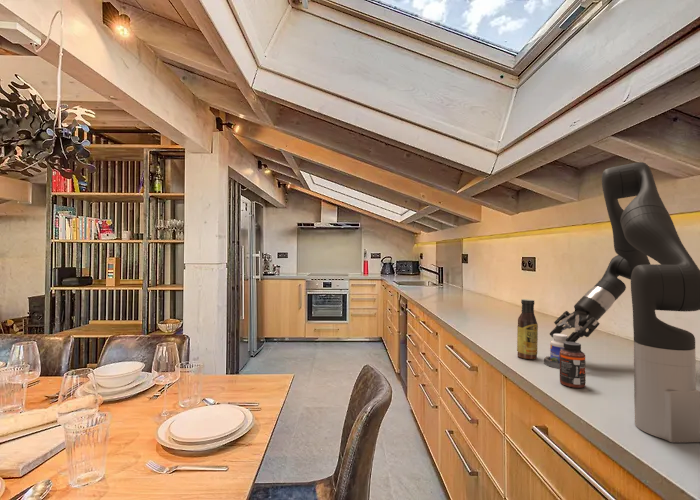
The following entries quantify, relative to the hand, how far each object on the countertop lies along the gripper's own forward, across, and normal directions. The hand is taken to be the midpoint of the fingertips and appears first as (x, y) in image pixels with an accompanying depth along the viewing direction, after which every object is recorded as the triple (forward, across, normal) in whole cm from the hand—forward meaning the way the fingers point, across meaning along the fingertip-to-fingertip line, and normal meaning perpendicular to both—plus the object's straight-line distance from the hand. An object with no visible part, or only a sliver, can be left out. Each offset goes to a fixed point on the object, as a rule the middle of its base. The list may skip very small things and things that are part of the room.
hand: (559, 339), depth 112 cm
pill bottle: (+6, 0, +6) cm, 8 cm away
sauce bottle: (+10, -8, +2) cm, 13 cm away
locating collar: (+6, 0, +6) cm, 8 cm away
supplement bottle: (+11, +17, +1) cm, 20 cm away
